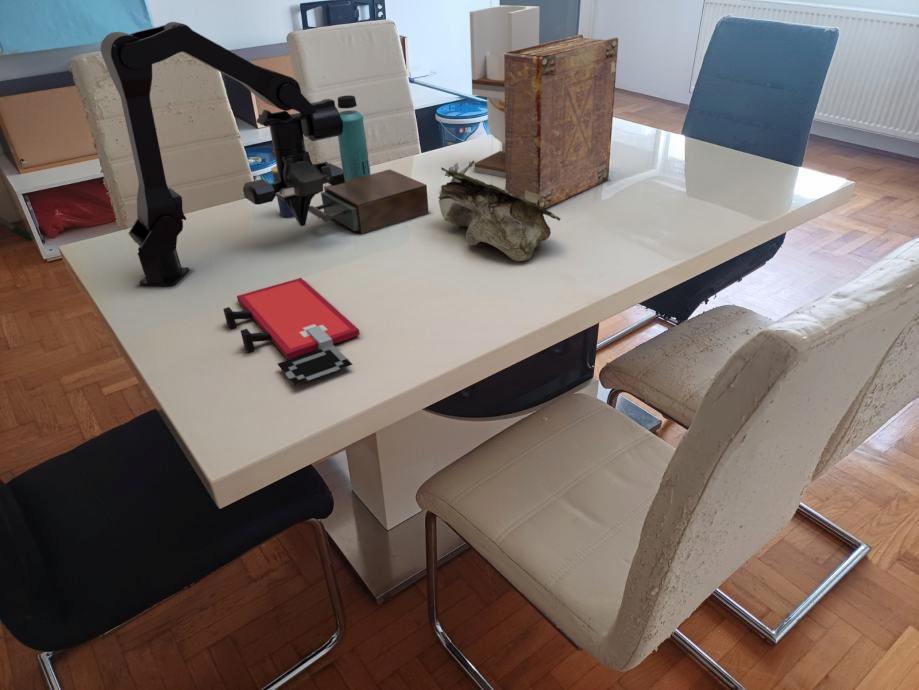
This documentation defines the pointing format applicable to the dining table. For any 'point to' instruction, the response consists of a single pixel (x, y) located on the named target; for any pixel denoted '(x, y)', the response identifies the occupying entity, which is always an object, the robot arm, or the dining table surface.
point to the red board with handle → (296, 328)
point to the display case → (498, 64)
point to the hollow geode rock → (494, 216)
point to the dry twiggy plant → (460, 171)
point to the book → (559, 117)
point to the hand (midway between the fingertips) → (302, 225)
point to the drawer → (337, 211)
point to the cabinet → (383, 199)
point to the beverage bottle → (352, 141)
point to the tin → (282, 205)
